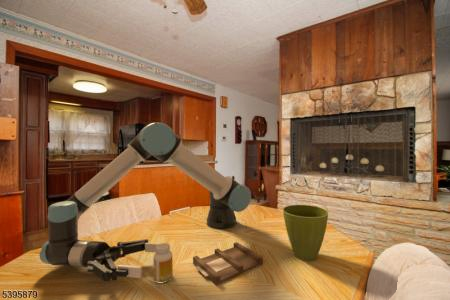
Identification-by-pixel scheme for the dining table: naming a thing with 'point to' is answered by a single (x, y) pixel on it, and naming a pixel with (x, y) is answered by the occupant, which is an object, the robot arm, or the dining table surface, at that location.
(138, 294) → the dining table surface
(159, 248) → the supplement bottle
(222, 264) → the slot board
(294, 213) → the flower pot
